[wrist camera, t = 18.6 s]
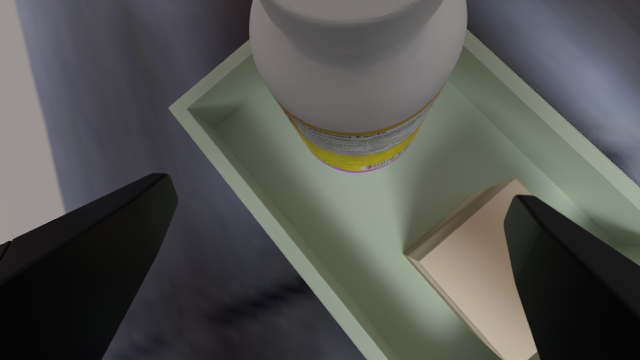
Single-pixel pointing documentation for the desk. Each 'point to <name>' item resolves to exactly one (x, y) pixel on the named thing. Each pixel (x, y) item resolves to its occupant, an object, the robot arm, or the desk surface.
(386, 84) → the supplement bottle
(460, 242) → the beech block
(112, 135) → the desk surface
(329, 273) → the tote
